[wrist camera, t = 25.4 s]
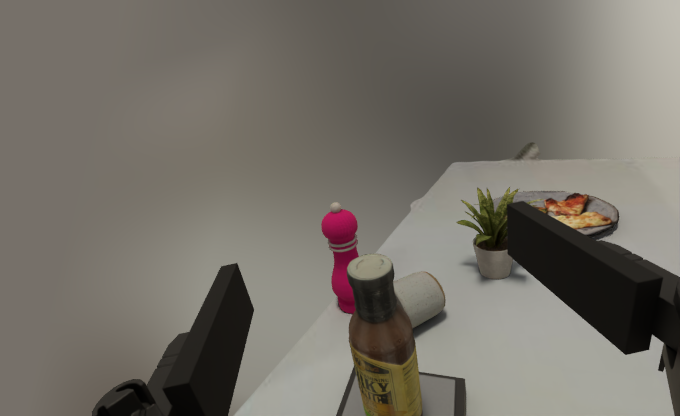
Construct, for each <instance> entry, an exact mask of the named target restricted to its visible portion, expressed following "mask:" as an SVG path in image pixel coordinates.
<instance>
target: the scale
mask: <svg viewBox="0 0 680 416" xmlns="http://www.w3.org/2000/svg"><path fill="white" fill-rule="evenodd" d="M419 380H420V389H421V397H422V412H423V416H466V389H465V379H463V378H456V377H449V376H443V375H436V374H429V373H422V372H419ZM336 416H366V414H365V411H364V407H363V402H362V398H361V393H360V389H359V385H358V380H357V376H356V371H355V367H354V368H353V371H352V373H351V376H350V379H349V382H348V384H347V387H346V390H345V393H344V396H343V398H342V401H341V404H340V407H339V409H338V412H337V415H336Z"/></svg>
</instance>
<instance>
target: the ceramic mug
mask: <svg viewBox="0 0 680 416" xmlns="http://www.w3.org/2000/svg"><path fill="white" fill-rule="evenodd" d="M393 285H394V292H395V296H396V299H397V304H399V305H400V306H401V307H402V308H403V310H404V311H405V312H406V313H407V314H408V316H409V318H410V320H411V324H412V329H413V328H414V327H416V326H418V325H420V324H421V323H423V322H425V321H426V320H428V319H430V318H432V317H434V316H435V315H437V314H438V313H439V312H441V311H442V310H443V308H444V306H445V295H444V291H443V289H442V287H441V285H440V283H439V282H438V281H437V279H436V278H435V277H434V276H432V275H431V274H429V273H427V272H417V273H413V274H411V275H408V276H406V277H404V278H401V279H399V280H396V281H393Z"/></svg>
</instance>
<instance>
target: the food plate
mask: <svg viewBox="0 0 680 416" xmlns="http://www.w3.org/2000/svg"><path fill="white" fill-rule="evenodd" d="M509 195H510V194H509ZM509 195H508V196H509ZM502 198H503V196H502V197H499V198H496V199H494V200H493V203H494V211H496V209H497V207H498V205H499V203H500V201H501V199H502ZM538 199H543V200H540V201H536V202H533V203H531V204H529V205H538V206H533V207H535V208H537V209H539V210H540V211H542V212H544V213H546V214H548V215H550V216H551V217H553V218H555V219H557V220H559V221H561V222H562V223H564V224H566V225H568V226H570V227H572V228H574V229H575V230H577V231H579V232H581V233H583V234H585V235H592V234H596V233H598V232H601V231H604V230H607V229H610V228H612V227H613V226H614V224H616V223H617V222H618V221H619V212H618V210H617V209H616V208H615V206H613V205H611V204H610V203H607V202H605V201H603V200H601V199H599V198H596V197H593V196H589V195H586V194H585V195H583V194H582V195H581V194H579V193H569V192H565V191H557V192H556V191H530V192H528V191H527V192H526V191H523V192H517V193H516V194H515V196H514V199H513V203H515V202H520V201H524V202H526V203H527V202H529V201H533V200H538ZM505 218H506V217H505ZM505 218H504V219H505Z"/></svg>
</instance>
